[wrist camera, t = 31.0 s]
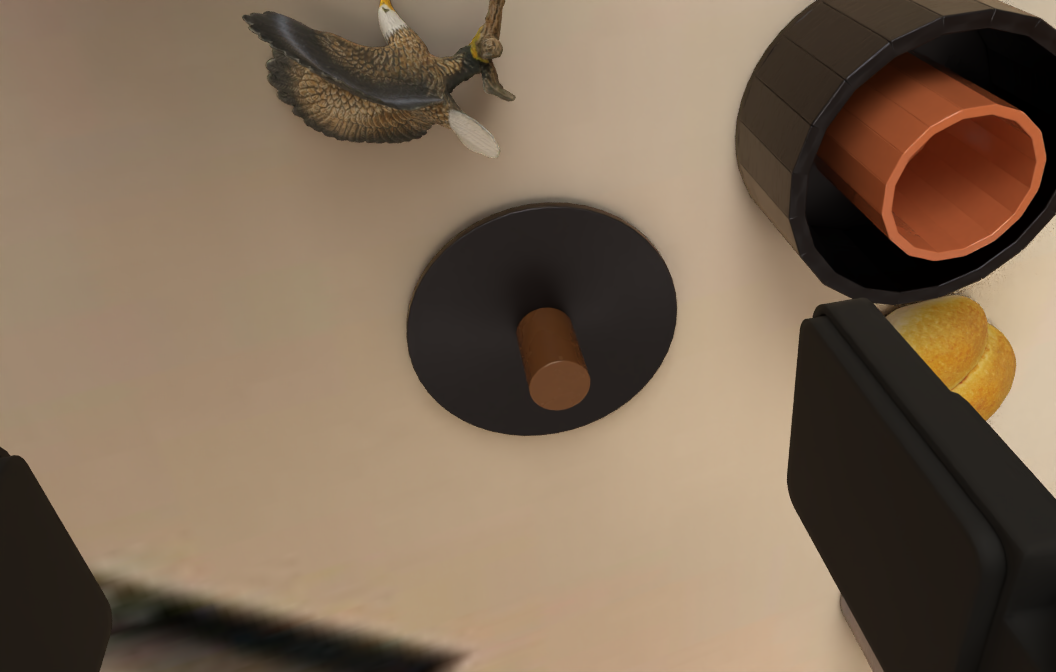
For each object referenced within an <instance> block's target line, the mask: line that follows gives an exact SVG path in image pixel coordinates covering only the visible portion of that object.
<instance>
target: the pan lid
mask: <svg viewBox="0 0 1056 672" xmlns="http://www.w3.org/2000/svg"><path fill="white" fill-rule="evenodd" d="M676 317H677V301H676V292H675V288H674V284H673V280H672V277H671V275H670V273H669V270H668V268H667V266H666V264H665V262H664V260H663V259H662V257H661V256H660V254H659V252H658V251H657V249H656V248H655V247H654V246H653V244H652V243H651V242H650V241H649V240H648V239H647V238H646V237H645V236H644V235H643V234H642V233H641V232H639V231H638V230H637V229H636V228H635V227H633V226H632V225H630V224H629V223H627V222H625V221H624V220H622V219H620V218H619V217H617V216H614V215H612V214H610V213H607V212H605V211H603V210H599V209H596V208H592V207H589V206H585V205H578V204H571V203H549V202H547V203H538V204H528V205H524V206H519V207H515V208H510V209H507V210H504V211H502V212H499V213H496V214H493V215H491V216H489V217H487V218H484V219H482V220H480V221H478V222H476V223H474V224H473V225H471V226H470V227H468V228H467V229H465V230H464V231H462V232H460V233H459V234H458V235H457V236H455V237H454V238H453V239H452V240H451V241H449V242H448V243H447V244H446V245H445V246H444V247H443V248H442V249H441V250H440V251H439V252H438V253H437V254H436V255H435V257H434V258H433V259H432V260H431V261H430V263H429V264H428V266H427V267H426V269H425V270H424V272H423V273H422V275H421V277H420V279H419V281H418V283H417V285H416V287H415V289H414V292H413V295H412V298H411V301H410V304H409V309H408V315H407V343H408V350H409V355H410V358H411V362H412V365H413V368H414V370H415V372H416V374H417V376H418V378H419V380H420V382H421V383H422V384H423V386H424V387H425V389H426V390H427V392H428V393H429V394H430V395H431V396H432V397H433V398H434V399H435V400H436V401H437V402H438V403H439V404H440V405H441V406H442V407H444V408H445V409H446V410H447V411H449V412H450V413H451V414H453V415H455V416H456V417H458V418H460V419H461V420H463V421H465V422H467V423H470V424H472V425H474V426H476V427H479V428H483V429H486V430H489V431H492V432H498V433H503V434H509V435H521V436H533V435H547V434H554V433H560V432H564V431H568V430H573V429H576V428H579V427H582V426H585V425H587V424H590V423H592V422H594V421H596V420H599V419H601V418H603V417H605V416H606V415H608V414H610V413H612V412H613V411H615V410H617V409H618V408H620V407H621V406H622V405H624V404H625V403H626V402H628V401H629V400H630V399H632V398H633V397H634V396H635V395H636V394H637V393H638V392H639V391H640V390H642V388H643V387H644V386H645V385H646V384H647V383H648V382H649V380H650V379H651V378H652V377H653V375H654V374H655V373H656V371H657V370H658V368H659V367H660V365H661V364H662V362H663V360H664V358H665V356H666V354H667V352H668V350H669V347H670V344H671V341H672V339H673V335H674V330H675V326H676Z"/></svg>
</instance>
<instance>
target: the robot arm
mask: <svg viewBox="0 0 1056 672" xmlns="http://www.w3.org/2000/svg"><path fill="white" fill-rule="evenodd" d="M787 485H788V491H789V495H790V498H791V501H792V504H793V506H794V508H795V510H796V512H797V514H798V515H799V517H800V519H801V521H802V523H803V525H804V526H805V528H806V530H807V532H808V534H809V536H810V537H811V539H812V541H813V543H814V545H815V547H816V548H817V550H818V552H819V554H820V556H821V558H822V559H823V561H824V563H825V565H826V567H827V568H828V570H829V572H830V574H831V576H832V578H833V579H834V581H835V583H836V585H837V587H838V589H839V590H840V592H841V594H842V596H843V598H844V600H845V601H846V603H847V605H848V607H849V609H850V611H851V612H852V614H853V616H854V618H855V620H856V622H857V623H858V625H859V627H860V629H861V631H862V633H863V634H864V636H865V638H866V640H867V642H868V644H869V645H870V647H871V649H872V651H873V653H874V655H875V656H876V658H877V660H878V662H879V664H880V666H881V667H882V669H883V671H884V672H1056V499H1055V498H1054V497H1053V496H1052V494H1051V493H1050V492H1049V491H1048V490H1047V489H1046V488H1045V487H1044V486H1043V484H1042V483H1041V482H1040V481H1039V480H1038V479H1037V478H1036V477H1035V475H1034V474H1033V473H1032V472H1031V471H1030V470H1029V469H1028V468H1027V467H1026V465H1025V464H1024V463H1023V462H1022V461H1021V460H1020V459H1019V458H1018V457H1017V455H1016V454H1015V453H1014V452H1013V451H1012V450H1011V449H1010V448H1009V447H1008V445H1007V444H1006V443H1005V442H1004V441H1003V440H1002V439H1001V438H1000V436H999V435H998V434H997V433H996V432H995V431H994V430H993V429H992V428H991V426H990V425H989V424H988V423H987V422H986V421H985V420H984V419H983V418H982V416H981V415H980V414H979V413H978V412H977V411H976V410H975V409H974V408H973V406H972V405H971V404H970V403H969V402H968V401H967V400H966V399H964V398H963V397H962V396H961V395H960V394H958V393H955V392H952V391H950V390H949V389H948V387H947V386H946V385H945V384H944V383H943V382H942V381H941V379H940V378H939V377H938V376H937V375H936V374H935V373H934V372H933V370H932V369H931V368H930V367H929V366H928V365H927V364H926V363H925V361H924V360H923V359H922V358H921V357H920V356H919V355H918V353H917V352H916V351H915V350H914V349H913V348H912V347H911V346H910V344H909V343H908V342H907V341H906V340H905V339H904V338H903V337H902V335H901V334H900V333H899V332H898V331H897V330H896V329H895V328H894V326H893V325H892V324H891V323H890V322H889V321H888V320H887V318H886V317H885V316H884V315H883V314H882V313H881V312H880V311H879V309H878V308H877V307H876V306H875V305H874V304H873V303H872V302H871V301H870V300H869V299H867V298H856V299H850V300H845V301H839V302H833V303H827V304H821V305H819V306H817V307H816V309H815V311H814V313H813V318H809V319H805V320H803V322H802V324H801V327H800V334H799V345H798V357H797V368H796V380H795V391H794V403H793V414H792V425H791V437H790V448H789V460H788V471H787ZM111 629H112V612H111V608H110V604H109V602H108V600H107V598H106V597H105V595H104V593H103V591H102V590H101V588H100V586H99V585H98V583H97V581H96V580H95V578H94V576H93V574H92V573H91V571H90V569H89V568H88V566H87V564H86V563H85V561H84V559H83V557H82V556H81V554H80V552H79V551H78V549H77V547H76V546H75V544H74V542H73V540H72V539H71V537H70V535H69V534H68V532H67V530H66V529H65V527H64V525H63V523H62V522H61V520H60V518H59V517H58V515H57V513H56V512H55V510H54V508H53V507H52V505H51V503H50V501H49V500H48V498H47V496H46V495H45V493H44V491H43V490H42V488H41V486H40V484H39V483H38V481H37V479H36V478H35V476H34V474H33V473H32V471H31V469H30V467H29V466H28V464H27V463H26V461H25V460H24V459H23V458H21V457H20V456H16V455H13V456H10V455H9V454H8V452H7V451H6V450H4V449H3V448H1V447H0V672H99V671H100V668H101V665H102V661H103V658H104V655H105V651H106V648H107V644H108V641H109V638H110V634H111Z"/></svg>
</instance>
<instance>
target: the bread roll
mask: <svg viewBox="0 0 1056 672" xmlns="http://www.w3.org/2000/svg"><path fill="white" fill-rule="evenodd" d="M886 318H887V320H888V321H889V322H890V323H891V324H892V325H893V326H894V328H895V329H896V330H897V331H898V332H899V333H900V334H901V335H902V337H903V338H904V339H905V340H906V341H907V342H908V343H909V344H910V346H911V347H912V348H913V349H914V350H915V351H916V352H917V353H918V355H919V356H920V357H921V358H922V359H923V360H924V361H925V363H926V364H927V365H928V366H929V367H930V368H931V369H932V370H933V372H934V373H935V374H936V375H937V376H938V377H939V378H940V379H941V381H942V382H943V383H944V384H945V385H946V386H947V387H948V389H949V390H950V391H952V392H955V393H958V394H960V395H961V396H962V397H963V398H964V399H966V400H967V401H968V402H969V403H970V404H971V405H972V406H973V408H974V409H975V410H976V411H977V412H978V413H979V414H980V415H981V416H982V418H983V419H984V420H985V421H986V420H988V419H989V418H990V417H991V416H992V415H993V414H994V413H995V412H996V410H997V409H998V408H999V407H1000V405H1001V404H1002V402H1003V401H1004V399H1005V398H1006V396H1007V394H1008V393H1009V391H1010V389H1011V386H1012V383H1013V379H1014V376H1015V370H1016V358H1015V354H1014V351H1013V349H1012V347H1011V345H1010V343H1009V341H1008V340H1007V339H1006V337H1005V336H1004V335H1003V334H1002V332H1000V331H999V330H998V329H996V328H995V327H994V326H992V325H990V324H989V323H987V318H986V315H985V313H984V311H983V309H982V308H981V306H980V305H979V304H978V303H976V302H975V301H973V300H971V299H970V298H967V297H964V296H960V295H949V296H944V297H939V298H936V299H932V300H928V301H924V302H920V303H916V304H912V305H908V306H904V307H901V308H898V309H896V310H895V311H893V312H892V313H890V314H889V315H888V316H886Z"/></svg>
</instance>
